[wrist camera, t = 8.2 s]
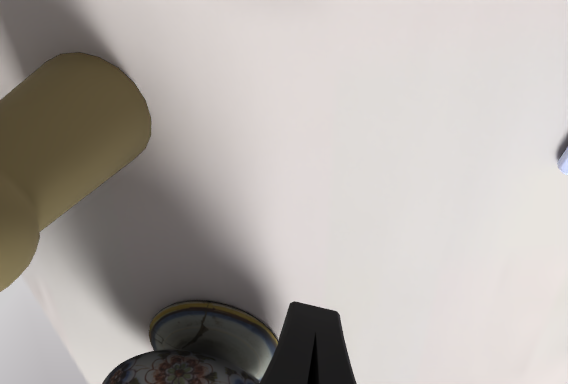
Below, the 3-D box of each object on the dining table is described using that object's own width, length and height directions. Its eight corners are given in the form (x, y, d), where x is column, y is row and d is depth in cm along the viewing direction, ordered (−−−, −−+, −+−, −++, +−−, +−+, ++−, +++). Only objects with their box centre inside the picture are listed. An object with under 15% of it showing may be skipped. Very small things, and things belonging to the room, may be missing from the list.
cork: (18, 46, 20) (-268, 167, 11) (141, 57, 19) (-48, 194, 10) (53, 158, 23) (-139, 320, 14) (158, 169, 22) (29, 346, 13)
